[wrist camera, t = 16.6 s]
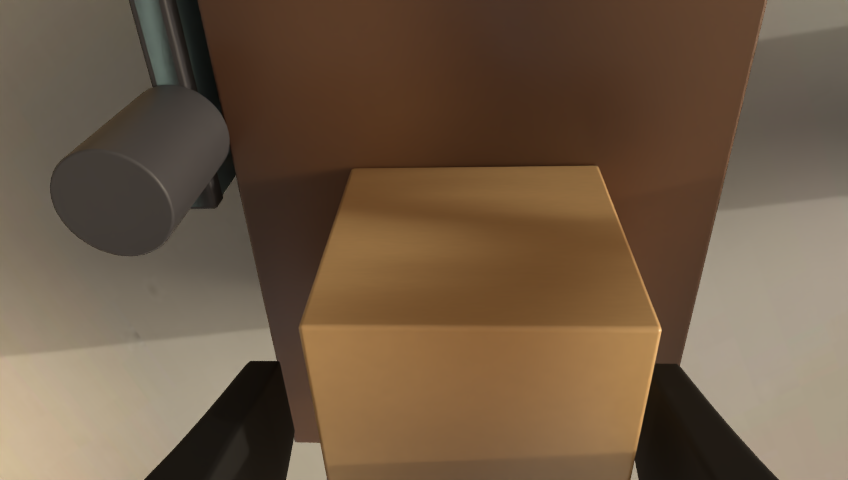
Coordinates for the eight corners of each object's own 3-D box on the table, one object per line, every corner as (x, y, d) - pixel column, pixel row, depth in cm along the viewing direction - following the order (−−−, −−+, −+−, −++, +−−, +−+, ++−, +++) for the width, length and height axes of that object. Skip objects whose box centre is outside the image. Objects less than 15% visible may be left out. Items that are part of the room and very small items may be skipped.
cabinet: (291, 290, 24) (234, 442, 18) (189, -247, 15) (15, -293, 9) (610, 291, 23) (660, 450, 17) (695, -276, 14) (852, -346, 9)
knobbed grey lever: (241, 104, 19) (87, 294, 11) (176, -214, 15) (-137, -259, 7) (307, 103, 19) (197, 294, 11) (261, -219, 15) (34, -268, 7)
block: (371, 349, 16) (336, 539, 12) (350, 167, 13) (295, 327, 9) (576, 351, 15) (617, 547, 11) (598, 164, 13) (664, 329, 9)
